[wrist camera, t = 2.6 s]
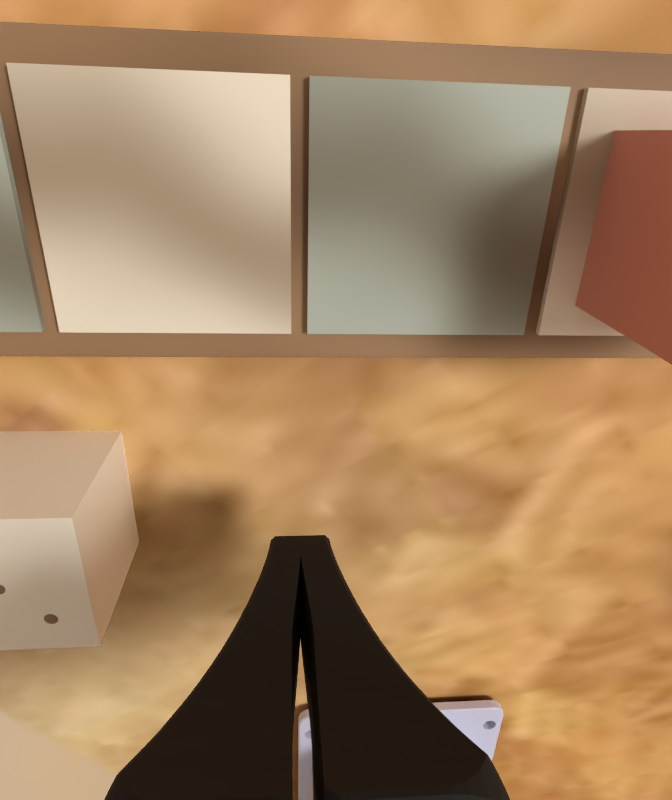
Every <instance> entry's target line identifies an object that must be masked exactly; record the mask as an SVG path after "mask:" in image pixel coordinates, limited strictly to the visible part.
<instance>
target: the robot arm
mask: <svg viewBox="0 0 672 800" xmlns="http://www.w3.org/2000/svg"><path fill="white" fill-rule="evenodd" d="M300 638H301V647H302V657H303V666H304V675H305V684H306V693H307V702H308V709H306V710H304V711H302V712H301V713H300V714H299V717H298V800H510V798H509V796H508V794H507V792H506V789H505V787H504V785H503V783H502V781H501V779H500V776H499V774H498V772H497V771H496V769H495V767H494V765H493V763H492V758H493V754H494V750H495V746H496V742H497V738H498V734H499V730H500V726H501V722H502V719H503V710H502V707H501V705H500V703H499V702H497V701H495V700H476V701H455V702H434V703H432V702H431V701H430V700H429V699H428V698H427V697H426V695H425V694H424V693H423V692H422V691H421V690H420V689H419V688H418V687H417V685H416V684H415V683H414V682H413V681H412V680H411V679H410V678H409V677H408V675H407V674H406V673H405V672H404V671H403V669H402V668H401V667H400V666H399V664H398V663H397V662H396V661H395V659H394V658H393V657H392V655H391V654H390V653H389V651H388V650H387V649H386V647H385V646H384V645H383V643H382V642H381V640H380V639H379V637H378V636H377V634H376V633H375V631H374V630H373V628H372V627H371V625H370V624H369V622H368V621H367V619H366V617H365V616H364V614H363V613H362V611H361V609H360V607H359V606H358V604H357V602H356V600H355V598H354V597H353V595H352V593H351V591H350V589H349V587H348V585H347V583H346V581H345V579H344V577H343V575H342V573H341V571H340V569H339V566H338V564H337V562H336V559H335V557H334V554H333V551H332V548H331V545H330V541H329V539H328V538H327V537H326V536H325V535H316V536H275V537H274V538H273V539H272V540H271V542H270V548H269V552H268V555H267V558H266V561H265V564H264V567H263V570H262V572H261V575H260V577H259V580H258V582H257V584H256V586H255V588H254V591H253V593H252V595H251V597H250V600H249V602H248V604H247V606H246V607H245V609H244V611H243V613H242V615H241V617H240V619H239V621H238V622H237V624H236V626H235V628H234V630H233V632H232V633H231V635H230V637H229V638H228V640H227V642H226V643H225V645H224V646H223V648H222V650H221V651H220V653H219V654H218V656H217V657H216V659H215V660H214V662H213V663H212V665H211V666H210V668H209V669H208V670H207V672H206V673H205V675H204V676H203V677H202V679H201V680H200V682H199V683H198V684H197V686H196V687H195V688H194V690H193V691H192V692H191V694H190V695H189V696H188V697H187V699H186V700H185V701H184V702H183V704H182V705H181V706H180V707H179V708H178V709H177V711H176V712H175V713H174V714H173V715H172V717H171V718H170V719H169V720H168V721H167V722H166V724H165V725H164V726H163V727H162V728H161V730H160V731H159V732H158V733H157V734H156V735H155V736H154V737H153V738H152V740H151V741H150V742H149V743H148V744H147V745H146V746H145V747H144V748H143V749H142V750H141V751H140V752H139V753H138V754H137V755H136V756H135V757H134V758H133V759H132V760H131V761H130V762H129V763H128V764H127V765H126V766H125V767H124V768H123V769H122V770H121V771H120V772H119V773H118V774H117V776H116V778H115V779H114V782H113V783H112V785H111V787H110V789H109V791H108V793H107V796H106V797H105V800H292V744H293V724H294V712H295V699H296V687H297V674H298V662H299V649H300Z"/></svg>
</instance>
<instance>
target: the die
mask: <svg viewBox="0 0 672 800" xmlns="http://www.w3.org/2000/svg"><path fill="white" fill-rule="evenodd" d="M138 544H139V537H138V531H137V525H136V518H135V512H134V506H133V499H132V493H131V487H130V481H129V474H128V468H127V462H126V455H125V449H124V443H123V436H122V431H7V432H0V650H23V649H50V648H76V647H100V646H101V643H102V641H103V638H104V635H105V632H106V630H107V627H108V624H109V622H110V619H111V616H112V614H113V611H114V608H115V606H116V603H117V600H118V598H119V595H120V592H121V590H122V587H123V584H124V581H125V579H126V576H127V573H128V571H129V568H130V565H131V563H132V560H133V557H134V555H135V552H136V549H137V547H138Z"/></svg>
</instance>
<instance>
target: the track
mask: <svg viewBox="0 0 672 800" xmlns="http://www.w3.org/2000/svg"><path fill="white" fill-rule="evenodd" d="M615 130H672V54H652V53H631V52H611V51H590V50H569V49H549V48H528V47H508V46H487V45H467V44H446V43H426V42H405V41H385V40H364V39H343V38H323V37H302V36H282V35H261V34H241V33H220V32H200V31H179V30H159V29H138V28H118V27H97V26H76V25H56V24H35V23H15V22H0V356H99V357H474V358H660V357H659V356H657V355H655V354H654V353H652V352H651V351H649V350H647V349H646V348H644V347H642V346H641V345H639V344H637V343H636V342H634V341H632V340H631V339H629V338H628V337H626V336H624V335H623V334H621V333H619V332H618V331H616V330H614V329H613V328H611V327H609V326H608V325H606V324H605V323H603V322H601V321H600V320H598V319H596V318H595V317H593V316H591V315H590V314H588V313H587V312H585V311H583V310H582V309H580V308H578V307H577V306H575V304H576V300H577V295H578V291H579V287H580V282H581V278H582V273H583V269H584V265H585V260H586V256H587V251H588V247H589V243H590V238H591V234H592V229H593V225H594V221H595V216H596V212H597V207H598V203H599V199H600V194H601V190H602V185H603V181H604V177H605V172H606V168H607V163H608V159H609V155H610V150H611V146H612V141H613V137H614V133H615Z"/></svg>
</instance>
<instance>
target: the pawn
mask: <svg viewBox="0 0 672 800" xmlns="http://www.w3.org/2000/svg"><path fill="white" fill-rule="evenodd" d="M575 306H577V307H578V308H580V309H582V310H583V311H585V312H587V313H588V314H590V315H591V316H593V317H595V318H596V319H598V320H600V321H601V322H603V323H605V324H606V325H608V326H609V327H611V328H613V329H614V330H616V331H618V332H619V333H621V334H623V335H624V336H626V337H628V338H629V339H631V340H632V341H634V342H636V343H637V344H639V345H641V346H642V347H644V348H646V349H647V350H649V351H651V352H652V353H654V354H655V355H657V356H659V357H660V358H662V359H664V360H665V361H667V362H669V363H670V364H672V130H615V133H614V137H613V141H612V146H611V150H610V155H609V159H608V163H607V168H606V172H605V177H604V181H603V185H602V190H601V194H600V199H599V203H598V207H597V212H596V216H595V221H594V225H593V229H592V234H591V238H590V243H589V247H588V251H587V256H586V260H585V265H584V269H583V273H582V278H581V282H580V287H579V291H578V295H577V300H576V304H575Z"/></svg>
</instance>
